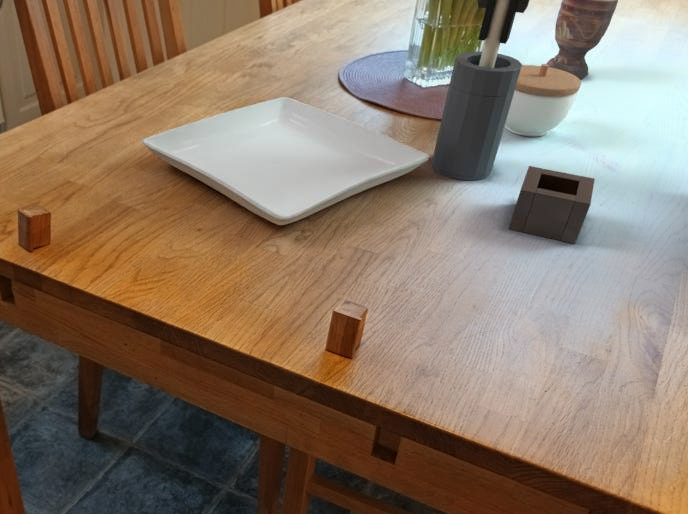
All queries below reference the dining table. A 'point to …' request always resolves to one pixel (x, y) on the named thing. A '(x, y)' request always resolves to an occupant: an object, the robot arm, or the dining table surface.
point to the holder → (552, 204)
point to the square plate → (284, 157)
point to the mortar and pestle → (580, 32)
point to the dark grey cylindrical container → (474, 116)
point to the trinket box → (541, 100)
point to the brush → (494, 34)
